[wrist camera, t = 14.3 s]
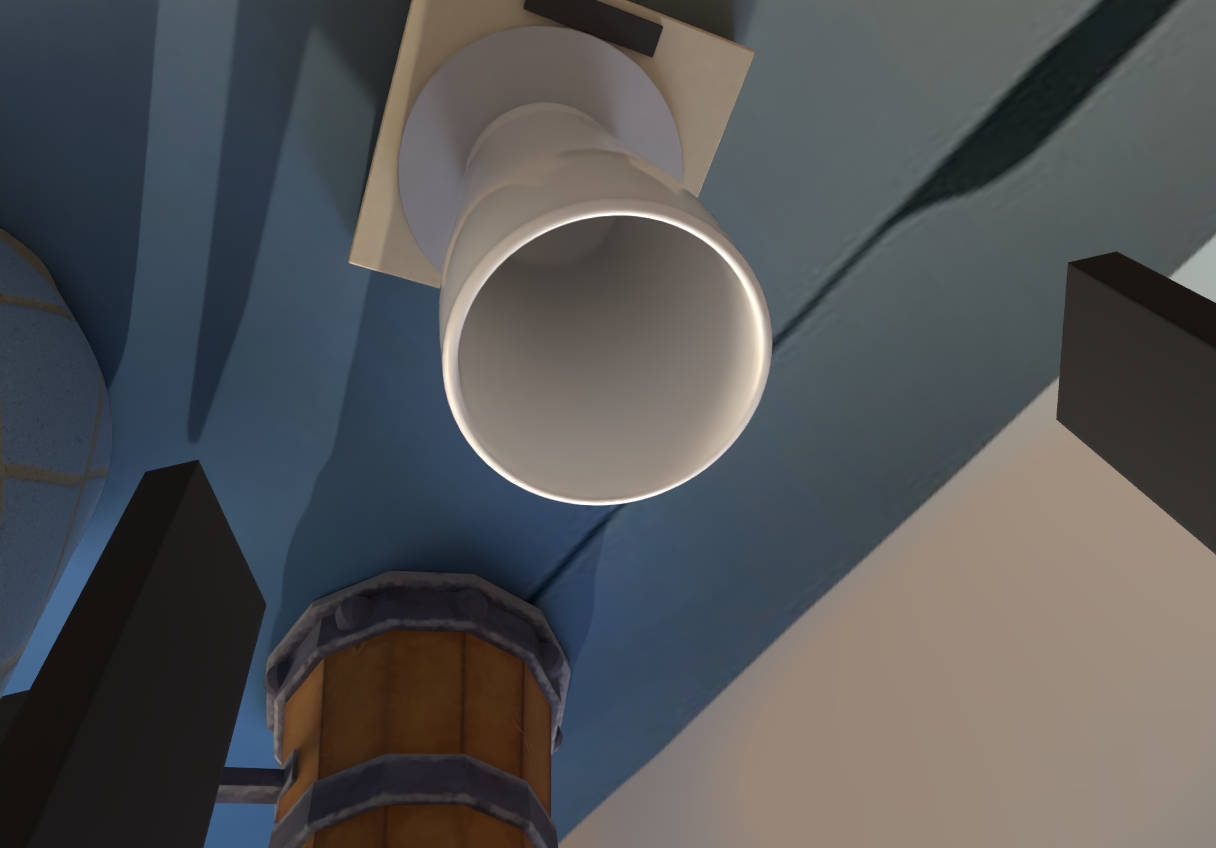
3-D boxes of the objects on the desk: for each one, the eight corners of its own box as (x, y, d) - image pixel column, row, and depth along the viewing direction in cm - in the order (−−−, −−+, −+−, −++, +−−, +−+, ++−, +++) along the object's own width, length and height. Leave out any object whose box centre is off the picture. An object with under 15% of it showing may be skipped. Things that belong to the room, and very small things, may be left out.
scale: (431, -77, 30) (429, -77, 28) (736, 42, 33) (761, 53, 31) (353, 241, 35) (345, 269, 32) (629, 320, 38) (643, 351, 35)
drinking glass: (429, 262, 32) (418, 496, 19) (455, 55, 29) (462, 166, 16) (620, 290, 34) (729, 525, 21) (662, 96, 31) (822, 228, 18)
